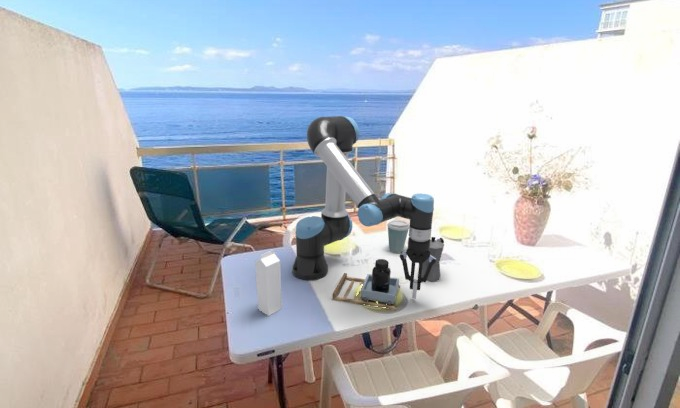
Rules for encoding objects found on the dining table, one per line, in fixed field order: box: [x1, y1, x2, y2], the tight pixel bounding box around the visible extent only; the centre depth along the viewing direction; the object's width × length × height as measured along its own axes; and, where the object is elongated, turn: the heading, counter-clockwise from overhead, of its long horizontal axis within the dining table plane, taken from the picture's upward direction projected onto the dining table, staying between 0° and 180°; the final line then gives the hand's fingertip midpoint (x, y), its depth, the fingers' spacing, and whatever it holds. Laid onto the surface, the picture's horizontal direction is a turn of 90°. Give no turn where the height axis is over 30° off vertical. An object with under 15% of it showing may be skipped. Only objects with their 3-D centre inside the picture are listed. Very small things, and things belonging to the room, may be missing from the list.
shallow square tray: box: [359, 273, 400, 306], centre depth 131 cm, size 13×14×4 cm
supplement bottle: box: [371, 258, 392, 293], centre depth 129 cm, size 7×7×12 cm
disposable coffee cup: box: [386, 219, 410, 254], centre depth 168 cm, size 11×11×15 cm
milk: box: [254, 249, 283, 317], centre depth 118 cm, size 6×6×22 cm
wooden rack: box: [331, 272, 401, 312], centre depth 132 cm, size 23×17×2 cm
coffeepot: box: [421, 236, 445, 283], centre depth 144 cm, size 15×9×18 cm, turn 136°
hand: (414, 296), depth 128 cm, fingers closed
